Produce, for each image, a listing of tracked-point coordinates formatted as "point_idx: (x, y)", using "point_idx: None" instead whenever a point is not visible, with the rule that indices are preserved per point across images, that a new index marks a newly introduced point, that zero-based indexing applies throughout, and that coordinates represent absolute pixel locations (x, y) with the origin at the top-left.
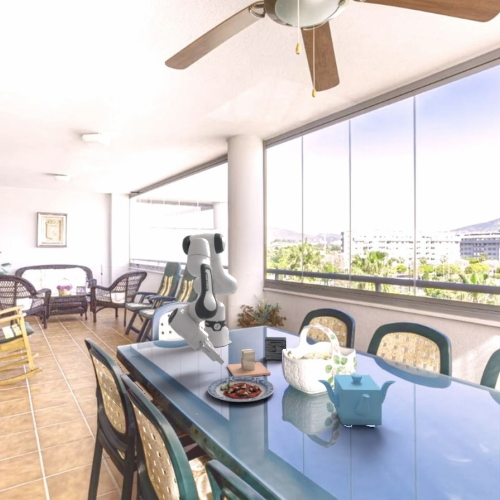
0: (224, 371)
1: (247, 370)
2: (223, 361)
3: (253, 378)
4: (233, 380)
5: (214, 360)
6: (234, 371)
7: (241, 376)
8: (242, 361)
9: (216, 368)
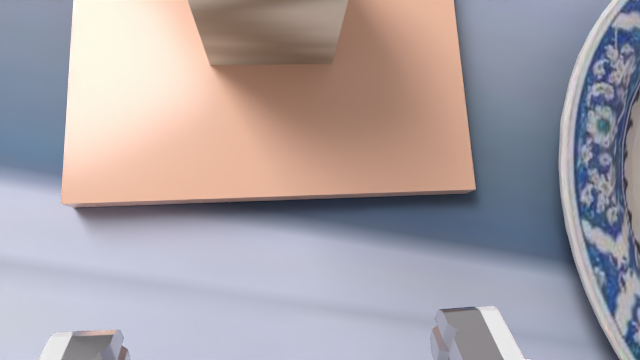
0: (230, 260)
1: None
2: (498, 317)
3: (628, 35)
4: (626, 226)
5: None
6: (335, 162)
7: (576, 131)
8: (271, 19)
9: None
